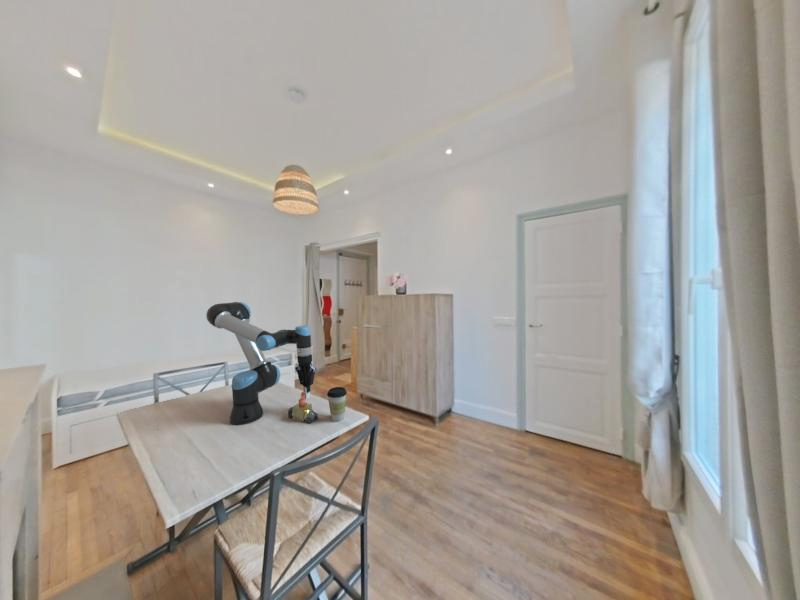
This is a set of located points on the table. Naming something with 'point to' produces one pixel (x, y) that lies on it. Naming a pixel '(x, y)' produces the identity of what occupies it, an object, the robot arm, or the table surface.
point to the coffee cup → (337, 403)
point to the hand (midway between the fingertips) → (307, 397)
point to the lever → (302, 399)
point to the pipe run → (303, 413)
